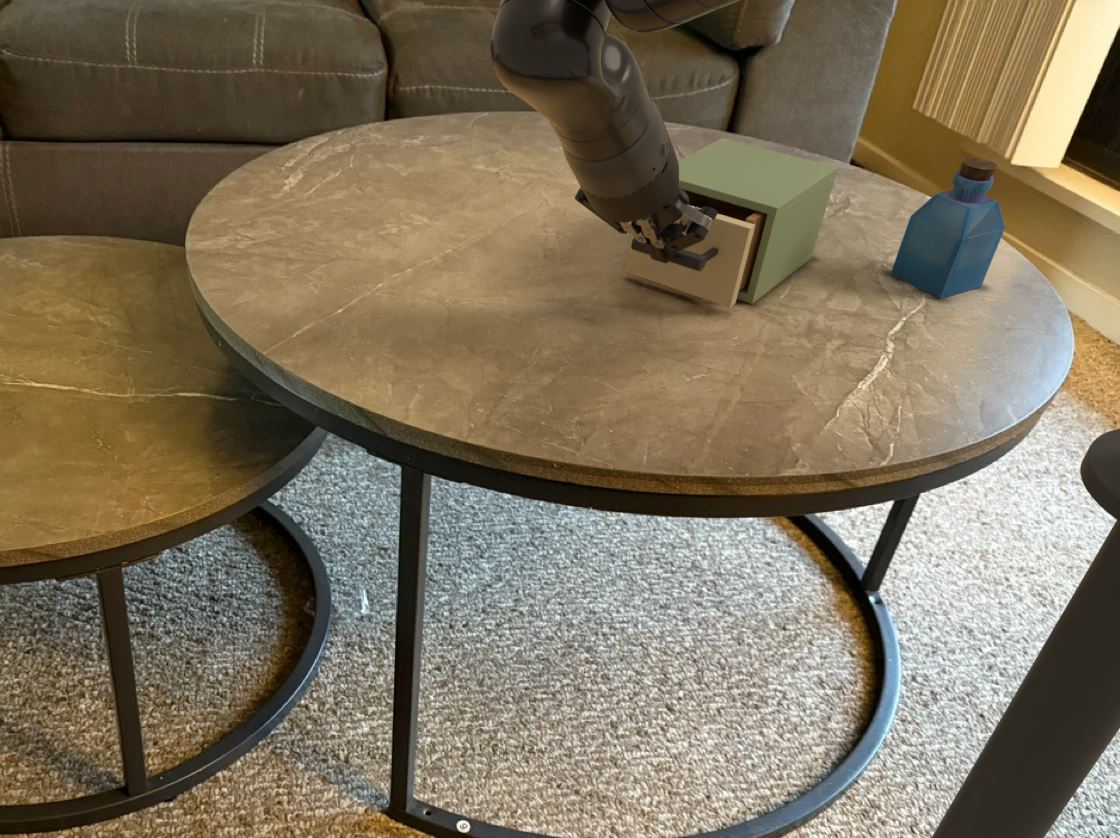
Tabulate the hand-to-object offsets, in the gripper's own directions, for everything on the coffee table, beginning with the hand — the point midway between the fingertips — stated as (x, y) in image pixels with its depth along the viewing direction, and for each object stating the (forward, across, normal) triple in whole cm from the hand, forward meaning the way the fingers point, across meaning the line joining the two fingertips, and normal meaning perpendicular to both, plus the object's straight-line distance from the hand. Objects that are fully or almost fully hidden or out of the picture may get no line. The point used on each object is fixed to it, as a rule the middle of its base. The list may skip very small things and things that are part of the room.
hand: (665, 252), depth 97 cm
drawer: (+10, 0, +3) cm, 10 cm away
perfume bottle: (+23, +18, +14) cm, 33 cm away
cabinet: (+15, 0, +7) cm, 17 cm away
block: (+10, 0, +4) cm, 11 cm away
